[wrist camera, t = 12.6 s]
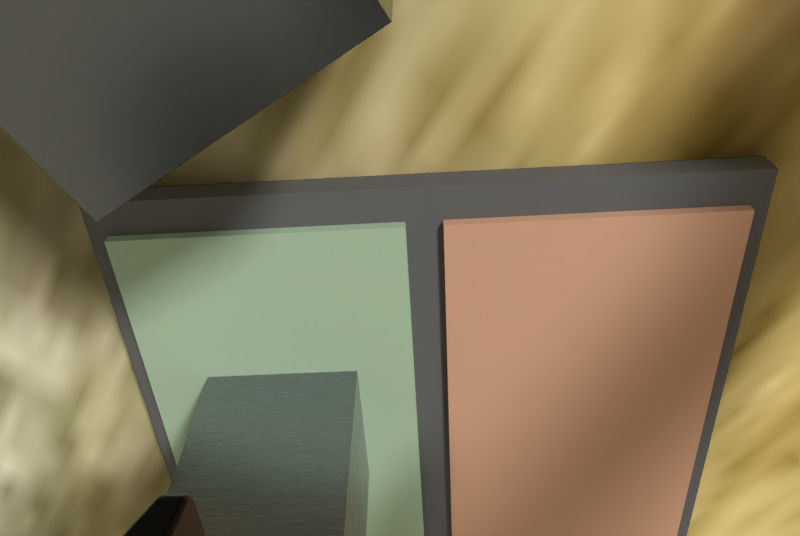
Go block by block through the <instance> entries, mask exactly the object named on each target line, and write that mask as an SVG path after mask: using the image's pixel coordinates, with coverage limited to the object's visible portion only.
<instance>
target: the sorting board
mask: <svg viewBox="0 0 800 536" xmlns="http://www.w3.org/2000/svg"><path fill="white" fill-rule="evenodd" d="M777 171H778V168H777V167H776V166H775V165H773V164H772V163H771V162H770V161H769V160H768V159H767V158H766V157H765V156H758V157H738V158H718V159H699V160H679V161H659V162H640V163H620V164H600V165H580V166H561V167H541V168H521V169H502V170H482V171H462V172H443V173H423V174H403V175H384V176H364V177H344V178H325V179H305V180H285V181H265V182H246V183H226V184H206V185H187V186H167V187H147V188H146V189H144V190H143V191H141V192H140V193H138V194H137V195H135V196H134V197H133V198H131V199H130V200H128V201H127V202H125V203H124V204H122V205H121V206H119V207H118V208H116V209H115V210H113V211H112V212H110V213H109V214H107V215H106V216H105V217H103V218H102V219H100V220H99V221H97V222H96V221H95V220H94V219H93V218H92V217H91V216H90V215H89V214H88V213H87V212H86V211H85V210H84V209H83V208H82V207H81V206H80V205H79V206H80V209H81V212H82V215H83V218H84V221H85V224H86V227H87V230H88V233H89V236H90V239H91V242H92V245H93V248H94V251H95V254H96V257H97V260H98V263H99V266H100V269H101V272H102V275H103V278H104V281H105V284H106V287H107V290H108V293H109V296H110V298H111V301H112V304H113V307H114V310H115V313H116V316H117V319H118V322H119V325H120V328H121V331H122V334H123V337H124V340H125V343H126V346H127V349H128V352H129V355H130V358H131V361H132V364H133V367H134V370H135V373H136V376H137V379H138V382H139V385H140V388H141V391H142V394H143V397H144V400H145V403H146V406H147V409H148V412H149V415H150V418H151V421H152V424H153V427H154V429H155V432H156V435H157V438H158V441H159V444H160V447H161V450H162V453H163V456H164V459H165V462H166V465H167V468H168V471H169V474H170V477H171V480H172V479H173V476H174V473H175V470H176V467H177V464H178V462H179V459H180V456H181V453H182V450H183V447H184V444H185V442H186V439H187V436H188V433H189V430H190V427H191V424H192V422H193V419H194V416H195V413H196V410H197V407H198V404H199V402H200V399H201V396H202V393H203V390H204V387H205V384H206V382H207V379H208V377H220V376H244V375H268V374H291V373H315V372H339V371H357V373H358V382H359V390H360V399H361V407H362V416H363V425H364V433H365V442H366V450H367V459H368V468H369V490H368V510H367V530H366V536H686V535H687V531H688V527H689V523H690V519H691V515H692V511H693V507H694V503H695V499H696V495H697V491H698V487H699V483H700V479H701V475H702V471H703V467H704V463H705V459H706V455H707V451H708V447H709V443H710V439H711V435H712V431H713V427H714V423H715V419H716V415H717V411H718V407H719V403H720V399H721V395H722V391H723V387H724V383H725V379H726V375H727V371H728V367H729V363H730V359H731V355H732V351H733V347H734V343H735V339H736V335H737V331H738V327H739V323H740V319H741V315H742V311H743V307H744V303H745V299H746V295H747V291H748V287H749V283H750V279H751V275H752V271H753V267H754V263H755V259H756V255H757V251H758V247H759V243H760V239H761V235H762V231H763V227H764V223H765V219H766V215H767V211H768V207H769V203H770V199H771V195H772V191H773V187H774V183H775V179H776V175H777Z"/></svg>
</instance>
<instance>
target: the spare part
mask: <svg viewBox="0 0 800 536" xmlns="http://www.w3.org/2000/svg"><path fill="white" fill-rule="evenodd" d="M368 490H369V468H368V459H367V450H366V442H365V433H364V425H363V416H362V407H361V399H360V390H359V382H358V373H357V371H339V372H315V373H291V374H268V375H244V376H220V377H208V379H207V382H206V384H205V387H204V390H203V393H202V396H201V399H200V402H199V404H198V407H197V410H196V413H195V416H194V419H193V422H192V424H191V427H190V430H189V433H188V436H187V439H186V442H185V444H184V447H183V450H182V453H181V456H180V459H179V462H178V464H177V467H176V470H175V473H174V476H173V479H172V482H171V484H170V487H169V490H168V493H167V494H189V495H190V496H192V497H193V499H194V501H195V504H196V507H197V509H198V512H199V515H200V518H201V521H202V524H203V527H204V530H205V534H206V536H366V530H367V510H368Z"/></svg>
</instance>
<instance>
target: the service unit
mask: <svg viewBox="0 0 800 536" xmlns="http://www.w3.org/2000/svg"><path fill="white" fill-rule="evenodd" d="M392 4H393V0H0V126H1V127H2V128H3V129H4V130H5V131H6V132H7V133H8V134H9V135H10V136H11V137H12V138H13V139H14V140H15V141H16V142H17V143H18V144H19V145H20V146H21V147H22V148H23V149H24V150H25V151H26V152H27V153H28V154H29V155H30V156H31V157H32V158H33V159H34V160H35V161H36V162H37V163H38V164H39V165H40V166H41V167H42V168H43V169H44V170H45V171H46V172H47V173H48V174H49V175H50V176H51V177H52V178H53V179H54V180H55V181H56V182H57V183H58V184H59V185H60V186H61V187H62V188H63V189H64V190H65V191H66V192H67V193H68V194H69V195H70V196H71V197H72V198H73V199H74V200H75V201H76V202H77V203H78V204H79V205H80V206H81V207H82V208H83V209H84V210H85V211H86V212H87V213H88V214H89V215H90V216H91V217H92V218H93V219H94V220H95V221H96V222H97V221H99V220H100V219H102V218H103V217H105V216H106V215H107V214H109V213H110V212H112V211H113V210H115V209H116V208H118V207H119V206H121V205H122V204H124V203H125V202H127V201H128V200H130V199H131V198H133V197H134V196H135V195H137V194H138V193H140V192H141V191H143V190H144V189H146V188H147V187H149V186H150V185H152V184H153V183H155V182H156V181H158V180H159V179H161V178H162V177H163V176H165V175H166V174H168V173H169V172H171V171H172V170H174V169H175V168H177V167H178V166H180V165H181V164H183V163H184V162H186V161H187V160H189V159H190V158H191V157H193V156H194V155H196V154H197V153H199V152H200V151H202V150H203V149H205V148H206V147H208V146H209V145H211V144H212V143H214V142H215V141H217V140H218V139H219V138H221V137H222V136H224V135H225V134H227V133H228V132H230V131H231V130H233V129H234V128H236V127H237V126H239V125H240V124H242V123H243V122H245V121H246V120H247V119H249V118H250V117H252V116H253V115H255V114H256V113H258V112H259V111H261V110H262V109H264V108H265V107H267V106H268V105H270V104H271V103H272V102H274V101H275V100H277V99H278V98H280V97H281V96H283V95H284V94H286V93H287V92H289V91H290V90H292V89H293V88H295V87H296V86H298V85H299V84H300V83H302V82H303V81H305V80H306V79H308V78H309V77H311V76H312V75H314V74H315V73H317V72H318V71H320V70H321V69H323V68H324V67H326V66H327V65H328V64H330V63H331V62H333V61H334V60H336V59H337V58H339V57H340V56H342V55H343V54H345V53H346V52H348V51H349V50H351V49H352V48H354V47H355V46H356V45H358V44H359V43H361V42H362V41H364V40H365V39H367V38H368V37H370V36H371V35H373V34H374V33H376V32H377V31H379V30H380V29H382V28H383V27H384V26H386V25H387V24H389V23H390V22H392Z"/></svg>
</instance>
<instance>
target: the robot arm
mask: <svg viewBox="0 0 800 536" xmlns="http://www.w3.org/2000/svg"><path fill="white" fill-rule="evenodd" d="M123 536H206V534H205V530H204V527H203V524H202V521H201V518H200V515H199V512H198V509H197V507H196V504H195V501H194V499H193V497H192V496H190V495H189V494H167V495H162V496H160V497H159V498H157V499H156V500H155V501H154V502H153V503H152V504H151V505H150V506H149V507H148V509H147V510H146V511H145V512H144V513H143V514H142V515H141V516H140V517H139V518H138V519H137V520H136V522H135V523H134V524H133V525H132V526H131V527H130V528H129V529H128V530H127V531H126V532H125V534H124V535H123Z"/></svg>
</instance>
